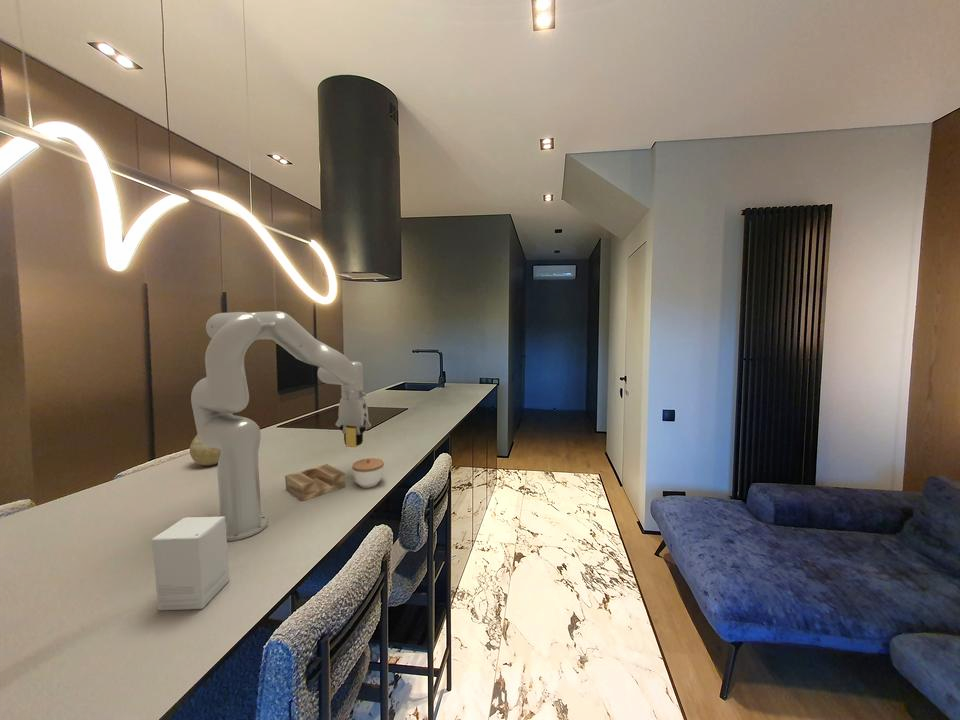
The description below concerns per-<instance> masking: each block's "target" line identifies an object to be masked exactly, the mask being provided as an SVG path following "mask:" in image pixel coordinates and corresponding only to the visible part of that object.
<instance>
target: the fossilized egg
mask: <svg viewBox="0 0 960 720" xmlns="http://www.w3.org/2000/svg"><path fill="white" fill-rule="evenodd" d="M189 454H190V457H191V459H192V460H193V462H195V463H196V464H198V465H201V466H206V467H207V466H209V467H210V466H214V465H217V464H218V461H219V458H220V454H221V450H220V449H217V448H213V447H210V446H207V445H205V444H204V443H203V442H202V441H201V440H200V438H199V436H198V433H196V435H195V436H194V438H193V439H192V440H191V443H190V446H189Z"/></svg>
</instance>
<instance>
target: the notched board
mask: <svg viewBox="0 0 960 720" xmlns="http://www.w3.org/2000/svg"><path fill="white" fill-rule="evenodd" d="M284 479H285V491H286V492H289V494H291V495H292V496H294V497H295V498H297V499H298V500H300V501H301V502H305V501H307V500H310V499H312V498H317V497H318V496H321V495H324V494H327V493H330V492H333V491H337V490H339V489H340V490H341V489H342V488H345V487H346V472H344V471H342V470H341V469H339V468H336V467H334V466H333V465H331V464H328V463H325V464H323V465H319V466H314V467H312V468H308V469H305V470H301V471H298V472H294V473H291V474H290V473H289V474H287V475H284Z"/></svg>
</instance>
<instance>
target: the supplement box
mask: <svg viewBox="0 0 960 720" xmlns="http://www.w3.org/2000/svg"><path fill="white" fill-rule="evenodd" d="M151 544H152V554H153V556H152V557H153V565H154V567H153V568H154V575H155V590H156V599H157V611H176V610H177V611H178V610H181V611H182V610H183V611H184V610H202V609H204V608H205V607H206V606H207V605H208V603H210V602H211V601H212V600H213V598H215V596H216V595H217V594H218V593H219V592H220V591H222V589H223V588H224V587H225V585H227V584H228V582H229V581H230V573H229V572H230V571H229V558H228V557H229V556H228V541H227V539H226V523H225V516H223V517H217V516H201V517H200V516H199V517H198V516H195V517H194V516H193V517H191V516H190V517H188V516H187V517H183V518H181V519H180V520H178V521H177V522H176V523H174V524H173V525H171V526H170V527H168V528H166V529H165V530H164V531H162V532H161V533H159V534H157V535H156V536H154V537H153V538H152V539H151Z"/></svg>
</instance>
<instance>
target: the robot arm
mask: <svg viewBox="0 0 960 720" xmlns="http://www.w3.org/2000/svg"><path fill="white" fill-rule="evenodd" d="M205 330H206V333H207V335H208V337H209V338H210V339H211V340H210V341H209V343H208V345H207V348H206V351H205V355H204V364H205V374H206V377H203V378H201V379H200V380H198V381H197V382H196V384H194V385H193V388H192V390H191V395H190V402H191V407H192V412H193V418H194V423H195V427H196V432H197V433H196V434H198V436H199V438H200V440H201V441H202V442H203V443H204V444H205V445H207V446H210V447H213V448H217V449H220V450H221V454H220V458H219V461H218V463H217V468H216V469H217V472H216V473H217V485H218V487H217V489H218V501H219V515H218V516H216V517H223V516H225V523H226V539H227V542H231V541H239V540H242V539H246V538H249V537H252V536H254V535H256V534H259V532H262V531H263V530H264V529H265V528H266V527H267V526H268V523H269V521H268V520H269V519H268V517H267V516H266V515H264V514H262V503H261V502H262V501H261V488H260V485H261V484H260V467H259V450H260V444H261V437H262V435H261V433H262V432H261V429H260V426H259V425H258V424H257V422H255V421H254V420H253V419H250V418H248V417H244V416H241V415H234V414H236V413H240V412H241V411H243V410H244V409H246V408H247V406H248V405H249V402H250V393H249V387H248V381H247V375H246V369H245V355H246V353H247V350H248V349H249V347H250V346H251V345H252V344H253V343H254V342H255V341H259V340H272V341H274V342H275V343H277V345H278V346H280V347H282V349H283V350H285V351H286V352H288V354H290V355H292V356H293V357H294V358H295V359H296V360H299V361H301V362H303V363H306V364H308V365H311V366H315V367H319V368H318V369H317V378H318V379H319V380H320V381H321V382H322V383H325V384H328V385H339V386H340V387H341V388H340V389H341V398H340V400H339V405H338V418H337V420H336V422H335V426H336V427H337V428H339V430H341V433H342V434H343V441H344V444H345V445H346V430H345V428H346V427H349V426H356V429H357V435H356V445H359V446H361V445H362V444H363V442H364V441H363V440H364V438H363V437H364V434H363V433H364V432H365V431H366V430H367V429H369V428H370V427H372V424H371V422H370V421H369V411H368V410H369V409H368V403H367V400H366V398H365V397H366V396H367V392H364V380H363V379H364V372H363V371H364V369H363V364H362V362H360V361H351V360H350V359H349V358H348V357H347V356H345V355H344V354H343V353H341V352H340V351H339V350H336V349H335V348H333V347H331V346H329V345H328V344H326V343H324V342H322V341H320V340H318V339H317V338H316V337H314V336H313V335H312V334H311V333H309V331H308V330H307V329H305V327H303V326H302V325H301V323H299V322H298V321H296V320H295V319H294V318H293V317H292V316H291V315H289V314H288V313H286V312H283V311H279V310H278V311H257V312H245V311H235V312H234V311H232V312H220V313H216V314H213V315H212V316H211V317H209V318H208V319H207V322H206V324H205ZM360 444H361V445H360Z"/></svg>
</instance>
